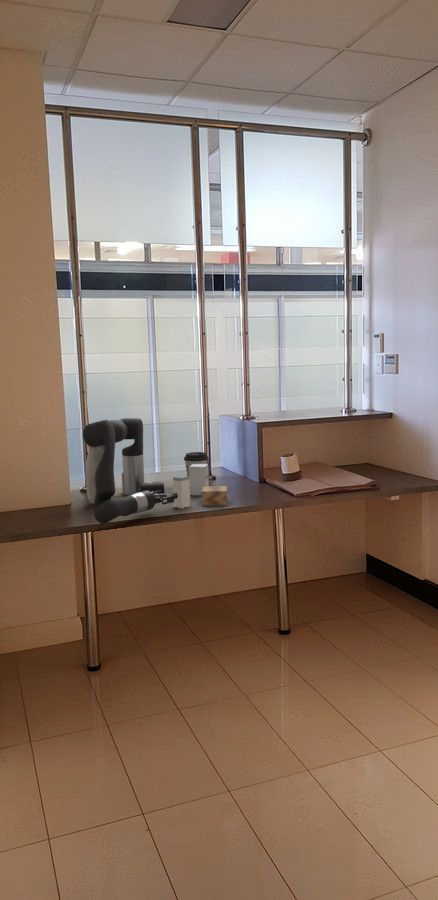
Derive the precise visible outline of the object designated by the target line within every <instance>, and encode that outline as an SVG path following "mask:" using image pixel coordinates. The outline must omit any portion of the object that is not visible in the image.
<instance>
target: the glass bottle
mask: <svg viewBox="0 0 438 900" xmlns="http://www.w3.org/2000/svg"><path fill="white" fill-rule="evenodd" d="M87 446H88V445H87ZM104 449H105V445H103V446H99V447H90V446H88V451H87V458H86V463H85V466H84V467H85V482H86V483H85V485H86V486H85V487H86V495H87V499H88V501H89V503H91V504H92V505H94V500H95V495H96V488H95V472H96V469H97V467H98V465H99V463H100V461H101V458H102V456H103V453H104Z"/></svg>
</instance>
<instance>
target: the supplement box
mask: <svg viewBox="0 0 438 900" xmlns="http://www.w3.org/2000/svg"><path fill="white" fill-rule="evenodd" d="M209 480H210V478H209V464H208V463H207V464H192V465H191V466H190V467H189V483H190V496H202V489H203V486H209V484H210V482H209Z"/></svg>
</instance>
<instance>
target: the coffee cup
mask: <svg viewBox="0 0 438 900" xmlns="http://www.w3.org/2000/svg"><path fill="white" fill-rule="evenodd" d="M183 460H184V463H185V469H186V476H189V467H190V466H191V465H192V464H208V460H209V456H208V455H207V453H206V452H205V451H204V452H203V451H202V452H201V451H191V452H187V453H186V454H185V456H184V457H183Z"/></svg>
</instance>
